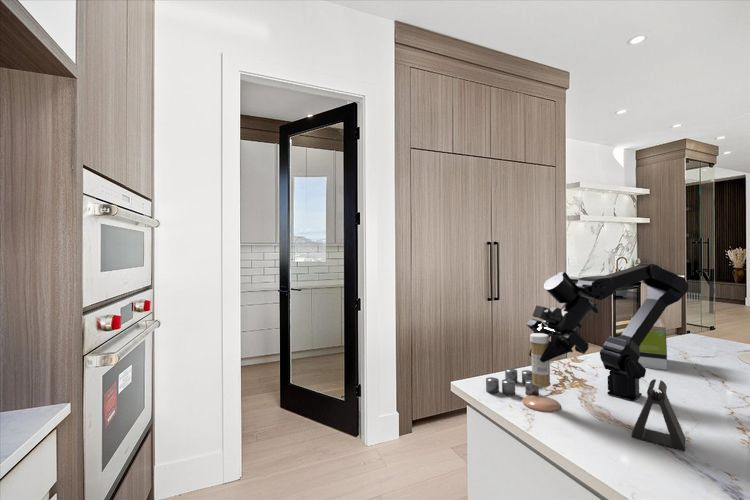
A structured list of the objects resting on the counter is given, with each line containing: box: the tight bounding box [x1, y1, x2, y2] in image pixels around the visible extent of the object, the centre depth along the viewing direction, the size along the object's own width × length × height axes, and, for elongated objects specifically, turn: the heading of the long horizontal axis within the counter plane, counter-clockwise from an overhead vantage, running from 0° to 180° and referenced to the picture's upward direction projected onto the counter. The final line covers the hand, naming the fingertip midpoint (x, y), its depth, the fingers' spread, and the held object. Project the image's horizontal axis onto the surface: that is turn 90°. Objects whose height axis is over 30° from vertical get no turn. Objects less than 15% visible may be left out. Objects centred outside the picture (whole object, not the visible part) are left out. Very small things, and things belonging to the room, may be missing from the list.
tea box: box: [630, 317, 668, 371], centre depth 130 cm, size 15×10×15 cm, turn 144°
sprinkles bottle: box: [529, 332, 552, 388], centre depth 97 cm, size 5×5×13 cm
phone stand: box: [630, 379, 687, 452], centre depth 79 cm, size 9×6×12 cm, turn 48°
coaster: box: [522, 394, 561, 413], centre depth 97 cm, size 9×9×1 cm
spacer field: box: [485, 368, 540, 397], centre depth 108 cm, size 13×17×4 cm
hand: (535, 358), depth 97 cm, fingers closed on sprinkles bottle, 4 cm apart
